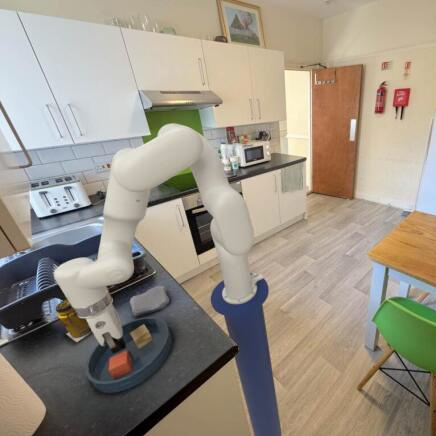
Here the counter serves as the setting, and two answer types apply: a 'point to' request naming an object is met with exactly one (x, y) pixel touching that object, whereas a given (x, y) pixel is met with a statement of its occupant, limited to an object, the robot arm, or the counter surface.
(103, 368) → the bowl
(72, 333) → the condiment
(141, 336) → the maple block
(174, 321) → the counter surface
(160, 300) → the stone block
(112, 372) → the coral block
